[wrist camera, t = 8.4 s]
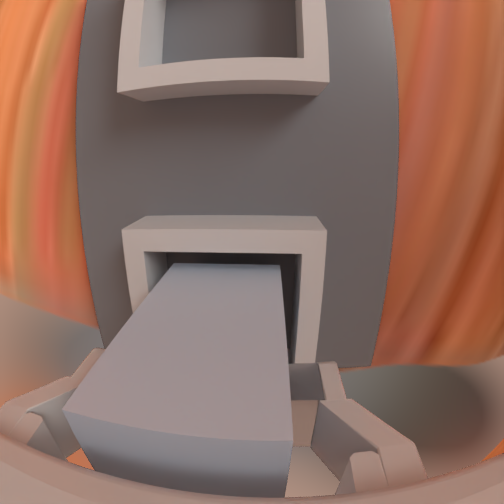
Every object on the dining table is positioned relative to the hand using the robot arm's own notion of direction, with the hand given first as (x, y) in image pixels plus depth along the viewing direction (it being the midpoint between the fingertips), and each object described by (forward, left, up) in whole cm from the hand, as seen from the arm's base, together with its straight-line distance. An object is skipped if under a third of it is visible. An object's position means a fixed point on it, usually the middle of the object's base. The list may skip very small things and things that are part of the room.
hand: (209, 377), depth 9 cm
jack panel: (0, -6, -7) cm, 9 cm away
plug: (0, 0, -4) cm, 4 cm away
